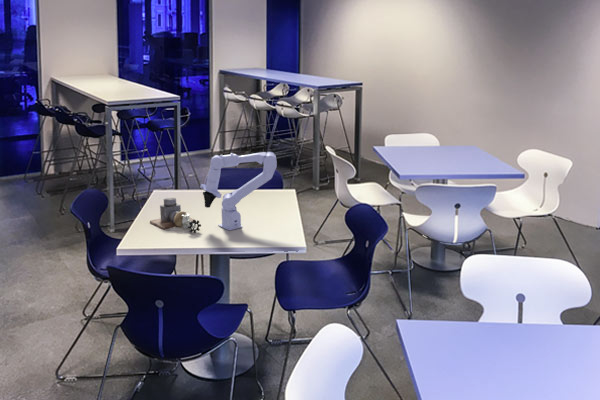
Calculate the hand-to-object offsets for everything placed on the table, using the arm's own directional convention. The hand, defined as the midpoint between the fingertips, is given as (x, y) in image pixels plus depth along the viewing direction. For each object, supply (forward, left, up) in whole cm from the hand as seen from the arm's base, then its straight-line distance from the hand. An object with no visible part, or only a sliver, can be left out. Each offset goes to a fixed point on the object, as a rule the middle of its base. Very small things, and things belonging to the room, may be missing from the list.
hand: (207, 207), depth 302 cm
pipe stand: (+17, +10, -10) cm, 22 cm away
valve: (+2, +9, -10) cm, 14 cm away
